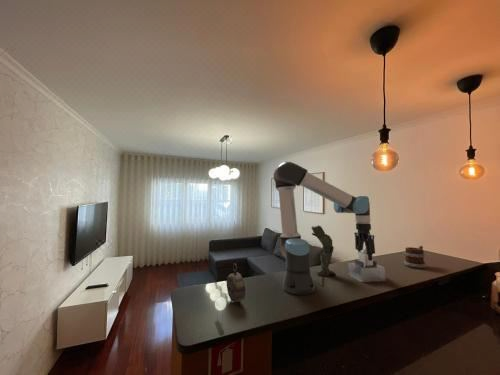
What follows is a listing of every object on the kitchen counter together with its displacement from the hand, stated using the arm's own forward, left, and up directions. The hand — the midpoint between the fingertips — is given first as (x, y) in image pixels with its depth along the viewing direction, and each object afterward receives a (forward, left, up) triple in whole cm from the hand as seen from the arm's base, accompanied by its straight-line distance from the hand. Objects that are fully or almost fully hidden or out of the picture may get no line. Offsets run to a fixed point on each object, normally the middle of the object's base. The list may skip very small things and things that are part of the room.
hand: (365, 264), depth 116 cm
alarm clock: (-75, -18, -8) cm, 77 cm away
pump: (0, 0, 0) cm, 0 cm away
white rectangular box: (0, 0, -7) cm, 7 cm away
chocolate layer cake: (+47, +14, -8) cm, 50 cm away
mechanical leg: (-20, +10, -8) cm, 24 cm away
